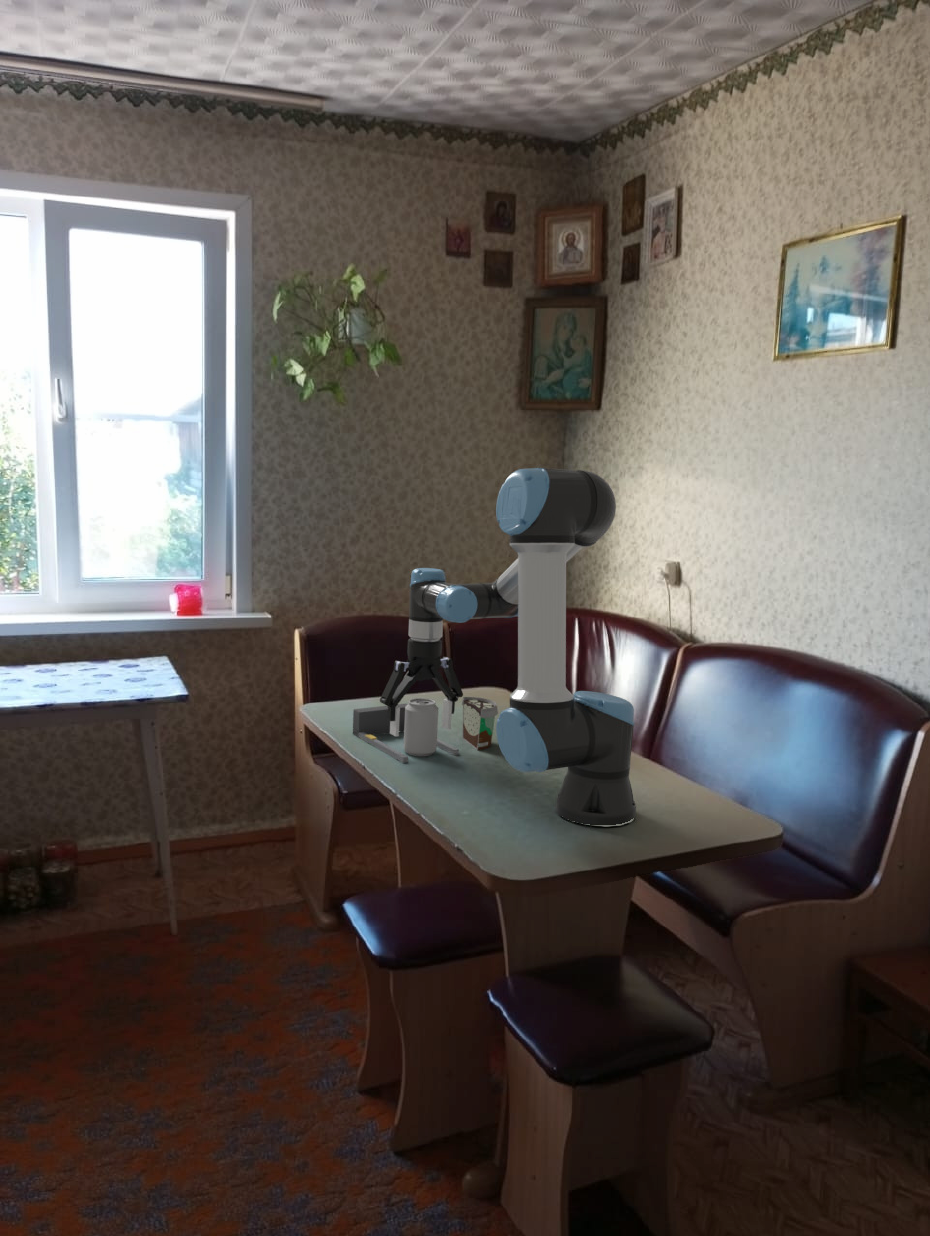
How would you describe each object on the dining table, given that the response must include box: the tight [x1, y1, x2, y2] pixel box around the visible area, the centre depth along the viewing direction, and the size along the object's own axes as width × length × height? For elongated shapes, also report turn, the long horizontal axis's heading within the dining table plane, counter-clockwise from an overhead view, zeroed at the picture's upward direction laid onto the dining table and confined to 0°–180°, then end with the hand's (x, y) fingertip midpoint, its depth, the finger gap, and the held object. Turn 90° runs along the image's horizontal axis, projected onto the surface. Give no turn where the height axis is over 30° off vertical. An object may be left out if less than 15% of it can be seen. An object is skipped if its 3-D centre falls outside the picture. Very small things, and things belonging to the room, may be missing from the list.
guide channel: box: [352, 703, 460, 764], centre depth 221 cm, size 24×15×6 cm, turn 33°
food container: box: [461, 696, 499, 751], centre depth 224 cm, size 12×6×10 cm, turn 22°
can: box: [403, 697, 439, 757], centre depth 215 cm, size 8×8×12 cm
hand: (420, 731), depth 215 cm, fingers open, 13 cm apart
